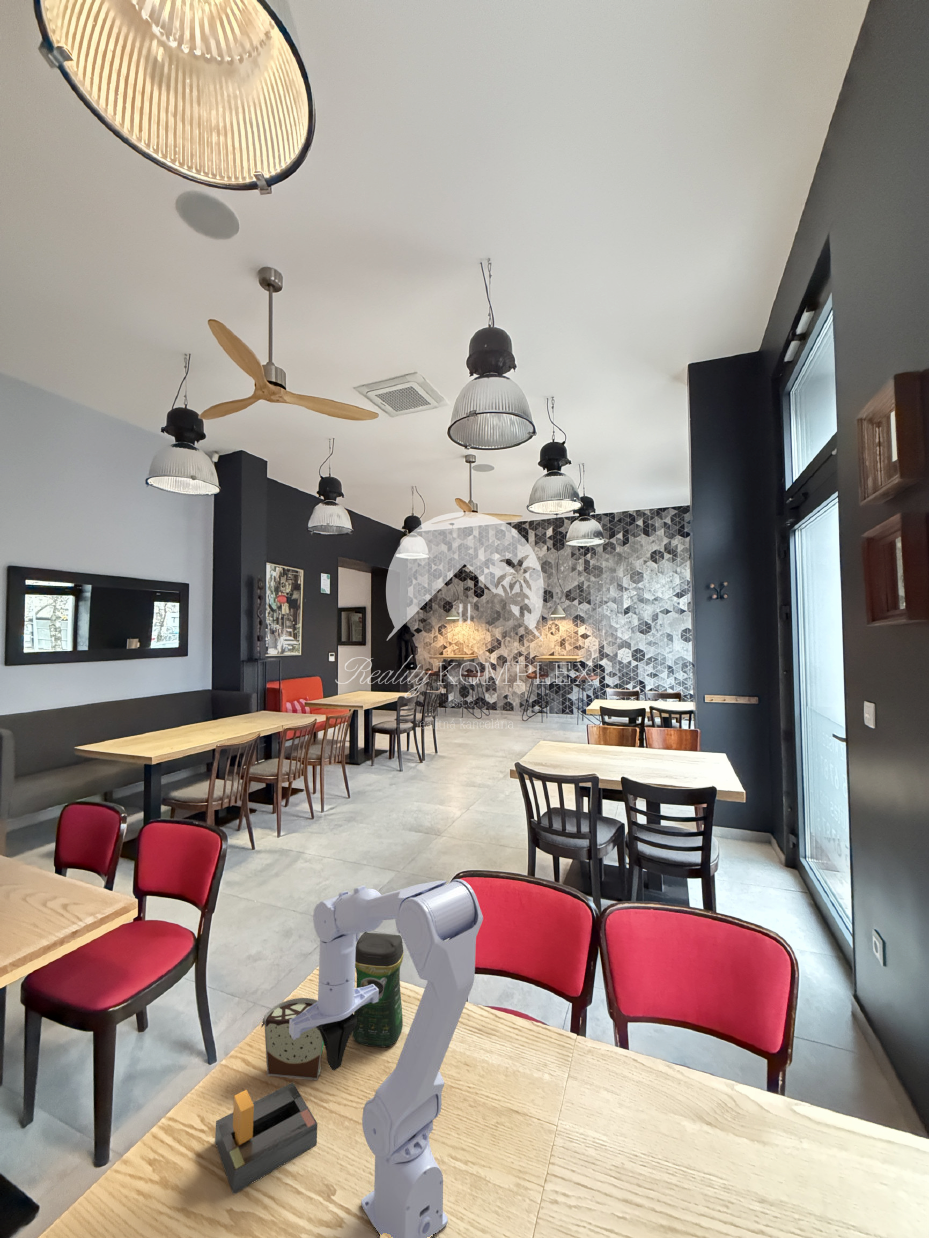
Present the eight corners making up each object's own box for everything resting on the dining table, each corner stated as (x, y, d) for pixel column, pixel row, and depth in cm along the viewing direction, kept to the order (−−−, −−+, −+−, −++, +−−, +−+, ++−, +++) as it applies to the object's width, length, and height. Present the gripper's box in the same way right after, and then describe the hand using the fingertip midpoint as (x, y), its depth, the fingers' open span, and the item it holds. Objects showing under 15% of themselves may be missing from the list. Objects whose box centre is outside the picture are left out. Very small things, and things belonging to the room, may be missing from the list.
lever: (251, 1158, 76) (253, 1105, 76) (238, 1165, 75) (241, 1111, 75) (244, 1140, 78) (246, 1089, 79) (231, 1147, 77) (234, 1095, 78)
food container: (338, 1054, 97) (339, 998, 98) (326, 1080, 91) (328, 1020, 91) (275, 1049, 98) (277, 993, 99) (259, 1074, 92) (261, 1014, 93)
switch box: (316, 1144, 79) (317, 1123, 79) (233, 1194, 71) (234, 1170, 71) (292, 1100, 86) (293, 1081, 87) (214, 1142, 79) (216, 1120, 79)
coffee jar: (406, 1023, 105) (408, 928, 107) (394, 1052, 97) (397, 949, 99) (361, 1017, 107) (363, 923, 108) (346, 1045, 99) (349, 943, 101)
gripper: (365, 948, 91) (363, 1030, 90) (283, 979, 82) (279, 1071, 81) (385, 967, 85) (383, 1054, 84) (300, 1002, 76) (296, 1101, 75)
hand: (334, 1064), depth 82 cm, fingers closed
